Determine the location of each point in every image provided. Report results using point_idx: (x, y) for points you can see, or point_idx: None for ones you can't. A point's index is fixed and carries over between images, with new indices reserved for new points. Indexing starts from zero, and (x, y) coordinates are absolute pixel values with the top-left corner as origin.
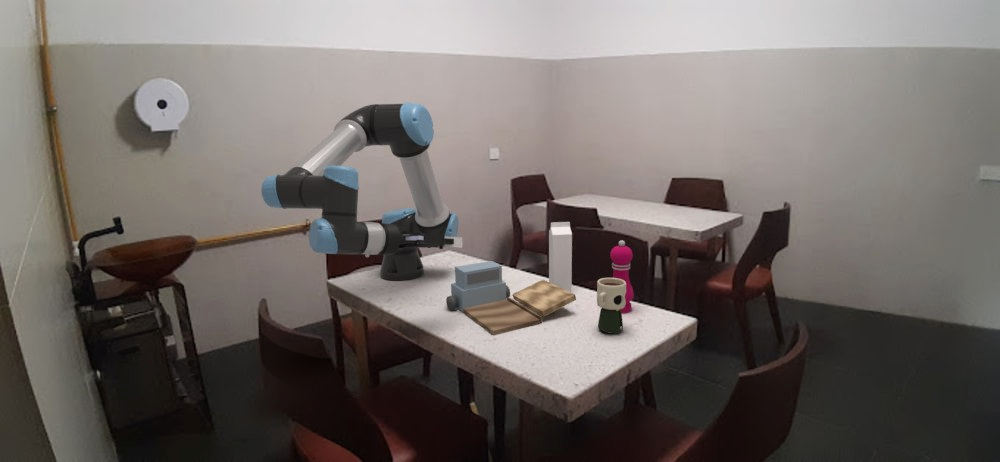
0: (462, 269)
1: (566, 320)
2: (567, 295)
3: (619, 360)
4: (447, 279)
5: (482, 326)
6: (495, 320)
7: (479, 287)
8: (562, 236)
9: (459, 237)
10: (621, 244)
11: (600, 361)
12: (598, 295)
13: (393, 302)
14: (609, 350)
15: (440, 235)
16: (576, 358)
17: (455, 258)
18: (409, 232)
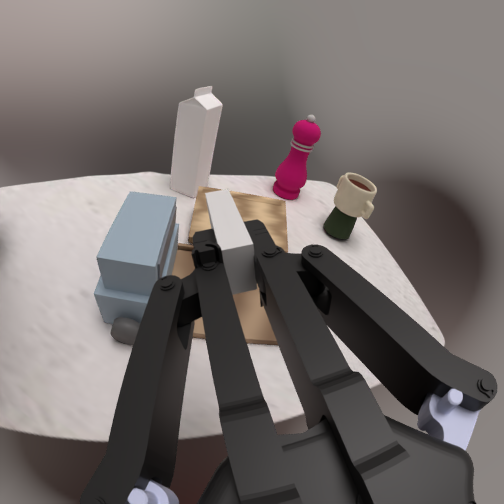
0: (130, 256)
1: (290, 241)
2: (278, 205)
3: (398, 271)
4: (9, 252)
5: (254, 342)
6: (258, 315)
7: (165, 267)
8: (214, 110)
9: (230, 195)
10: (314, 120)
11: (399, 284)
12: (356, 204)
13: (11, 397)
14: (379, 263)
15: (345, 266)
16: (390, 297)
17: None
18: (404, 458)
